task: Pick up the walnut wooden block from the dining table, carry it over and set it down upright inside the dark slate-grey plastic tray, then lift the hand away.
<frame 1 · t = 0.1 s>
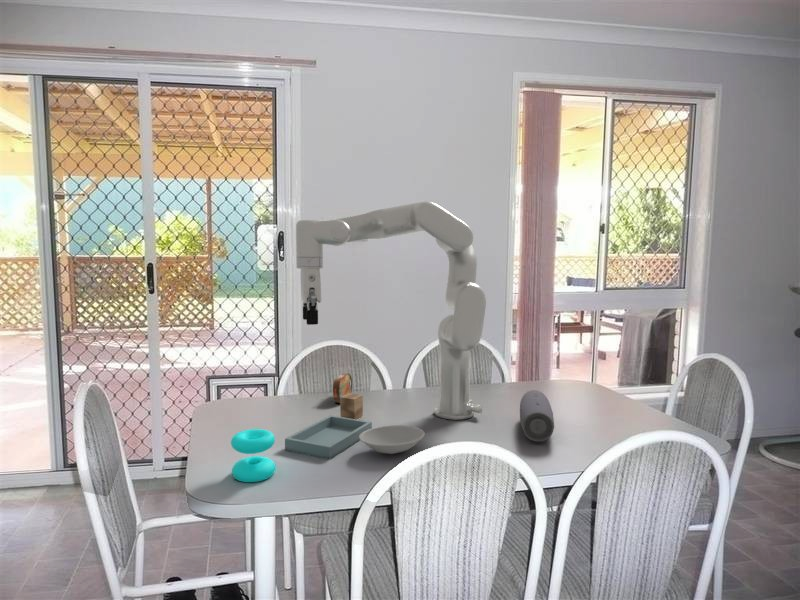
hand: (310, 321, 170), 31 cm above the table, tool pointing down, fingers open, 9 cm apart
donuts: (254, 476, 137), on the table
bluetooth speaker: (535, 432, 168), on the table
dish: (392, 453, 152), on the table
block: (351, 418, 180), on the table
tin: (342, 400, 200), on the table
tray: (330, 441, 160), on the table
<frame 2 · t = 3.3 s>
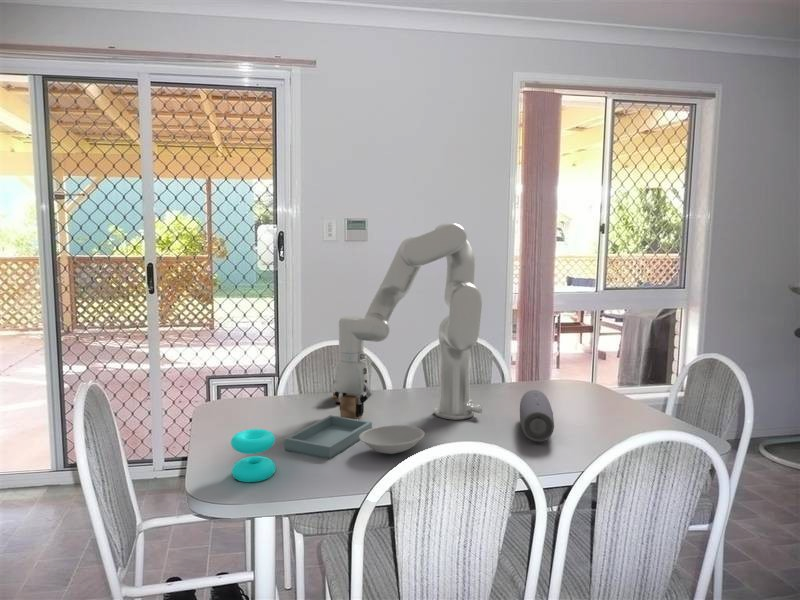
hand: (351, 414, 180), 1 cm above the table, tool pointing down, fingers closed on block, 4 cm apart
block: (351, 418, 180), on the table, touching gripper
everything else where it was.
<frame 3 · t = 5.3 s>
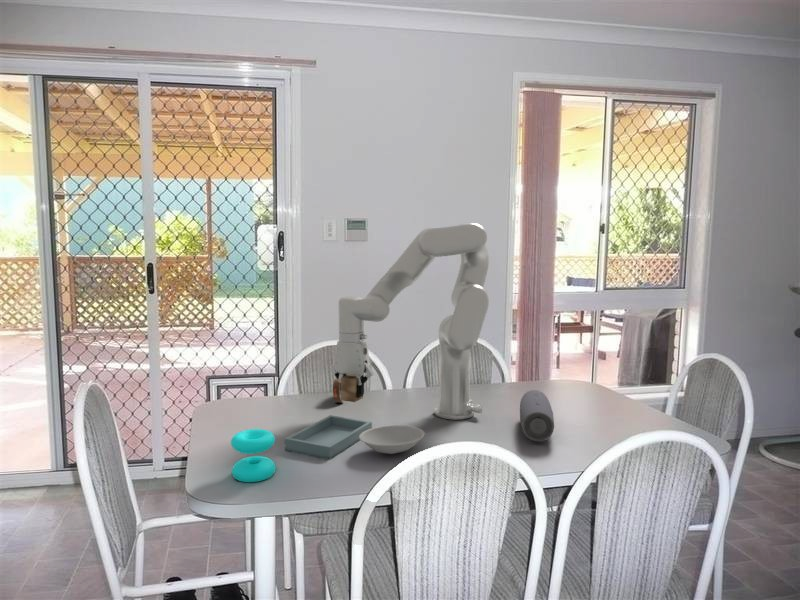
hand: (351, 394, 179), 7 cm above the table, tool pointing down, fingers closed on block, 4 cm apart
block: (352, 399, 179), point 6 cm above the table, touching gripper
everything else where it was.
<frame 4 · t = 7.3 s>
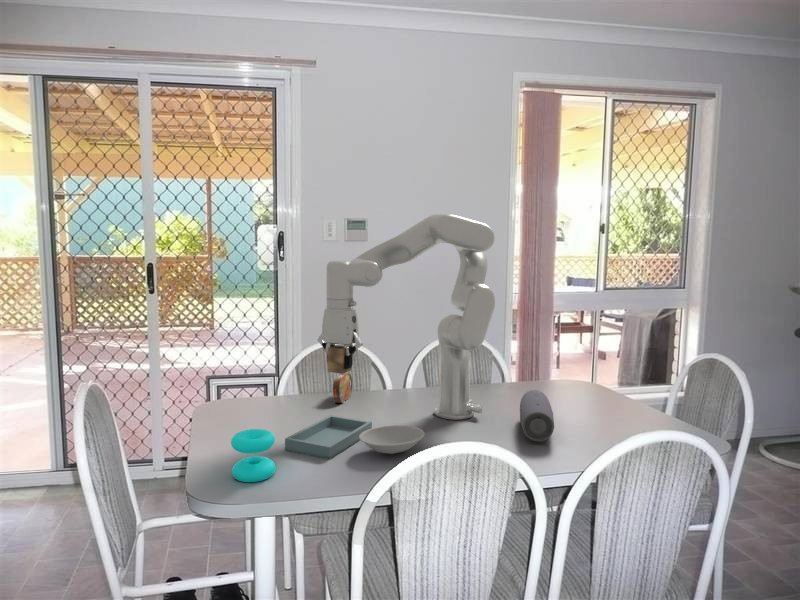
hand: (339, 366, 167), 19 cm above the table, tool pointing down, fingers closed on block, 4 cm apart
block: (339, 371, 167), point 17 cm above the table, touching gripper
everything else where it was.
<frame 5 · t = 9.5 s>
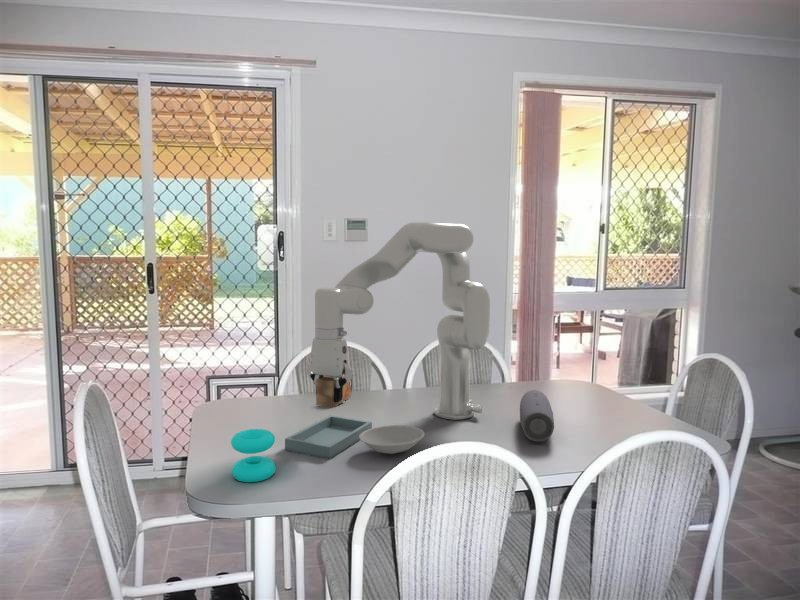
hand: (329, 399, 158), 12 cm above the table, tool pointing down, fingers closed on block, 4 cm apart
block: (329, 403, 158), point 11 cm above the table, touching gripper
everything else where it was.
when the fingers open (3 cm above the table, at t = 11.4 s): block drops 1 cm, resting on tray.
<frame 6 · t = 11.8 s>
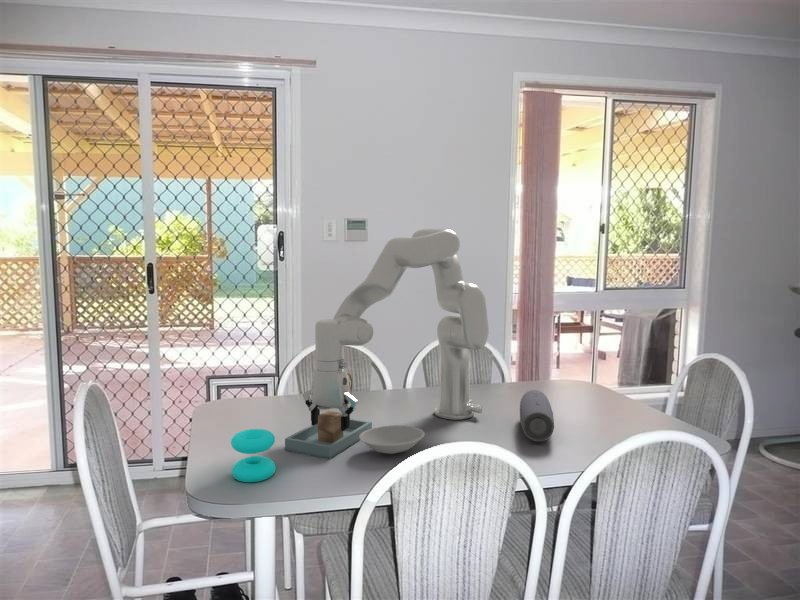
hand: (330, 426, 159), 4 cm above the table, tool pointing down, fingers open, 9 cm apart
block: (330, 439, 160), point 1 cm above the table, touching tray
everything else where it was.
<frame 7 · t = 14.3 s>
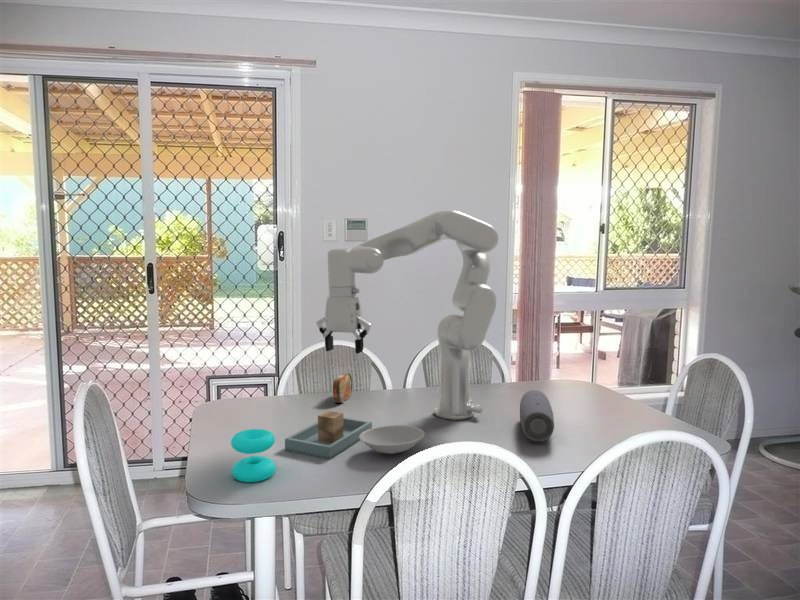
hand: (344, 351, 167), 23 cm above the table, tool pointing down, fingers open, 9 cm apart
nothing on the table moved.
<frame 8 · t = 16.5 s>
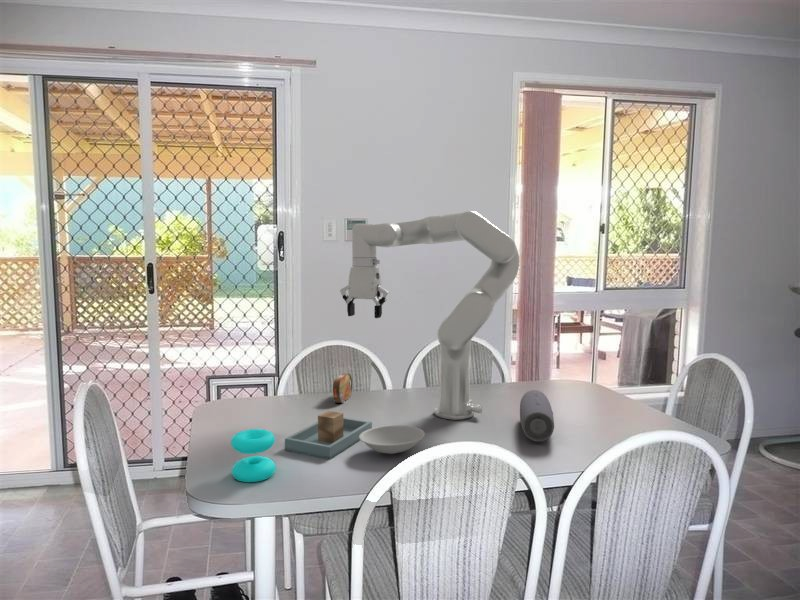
hand: (364, 316, 186), 30 cm above the table, tool pointing down, fingers open, 9 cm apart
nothing on the table moved.
at the end: block inside the target area on the tray (0.2 cm from its centre), point 0.6 cm above the tray's base; block tilted 0°; the gripper is holding nothing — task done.
